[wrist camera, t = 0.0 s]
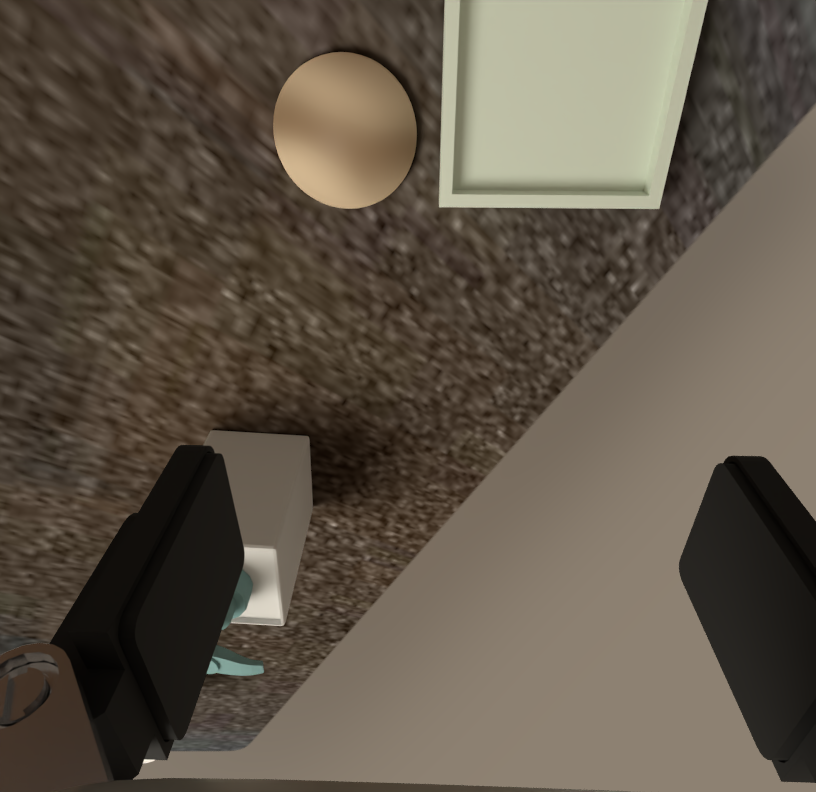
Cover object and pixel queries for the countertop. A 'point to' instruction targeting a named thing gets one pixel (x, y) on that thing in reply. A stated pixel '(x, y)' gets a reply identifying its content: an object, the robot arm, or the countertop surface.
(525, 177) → the tray
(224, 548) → the robot arm
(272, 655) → the countertop surface
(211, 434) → the soap bottle
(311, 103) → the cork coaster
